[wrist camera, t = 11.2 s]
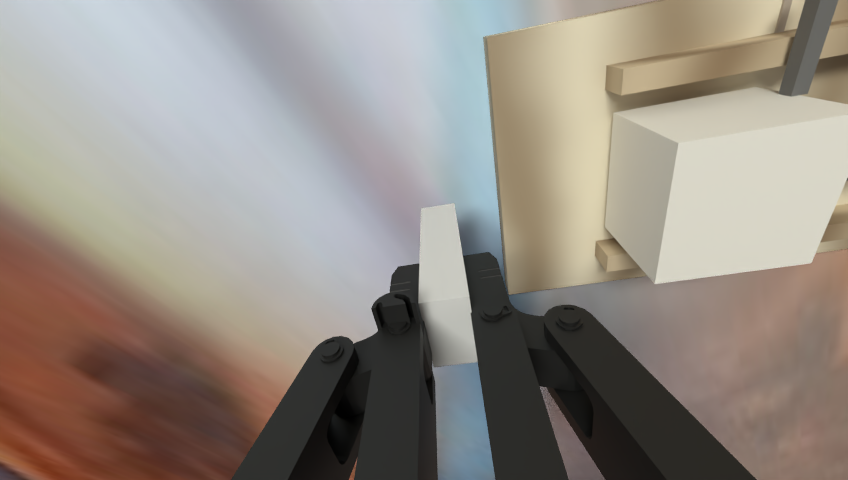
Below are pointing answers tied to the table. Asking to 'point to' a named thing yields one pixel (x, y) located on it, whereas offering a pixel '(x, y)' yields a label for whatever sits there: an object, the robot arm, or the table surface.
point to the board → (618, 91)
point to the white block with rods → (731, 172)
